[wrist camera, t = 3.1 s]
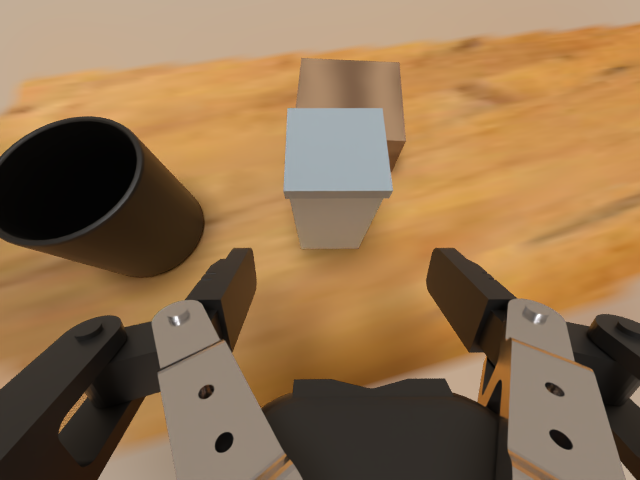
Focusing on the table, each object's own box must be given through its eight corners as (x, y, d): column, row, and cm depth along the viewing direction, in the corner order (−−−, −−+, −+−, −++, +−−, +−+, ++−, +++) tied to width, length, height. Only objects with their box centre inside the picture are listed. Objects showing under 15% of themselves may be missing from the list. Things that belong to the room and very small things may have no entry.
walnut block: (297, 170, 26) (292, 135, 22) (304, 100, 30) (301, 58, 25) (390, 174, 26) (405, 141, 21) (386, 104, 30) (399, 62, 25)
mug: (78, 204, 24) (-51, 138, 16) (200, 178, 25) (140, 103, 17) (71, 297, 21) (-94, 277, 13) (210, 263, 22) (143, 223, 14)
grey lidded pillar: (298, 250, 23) (283, 191, 13) (299, 196, 25) (287, 108, 15) (360, 250, 23) (392, 190, 13) (356, 196, 25) (382, 108, 15)
